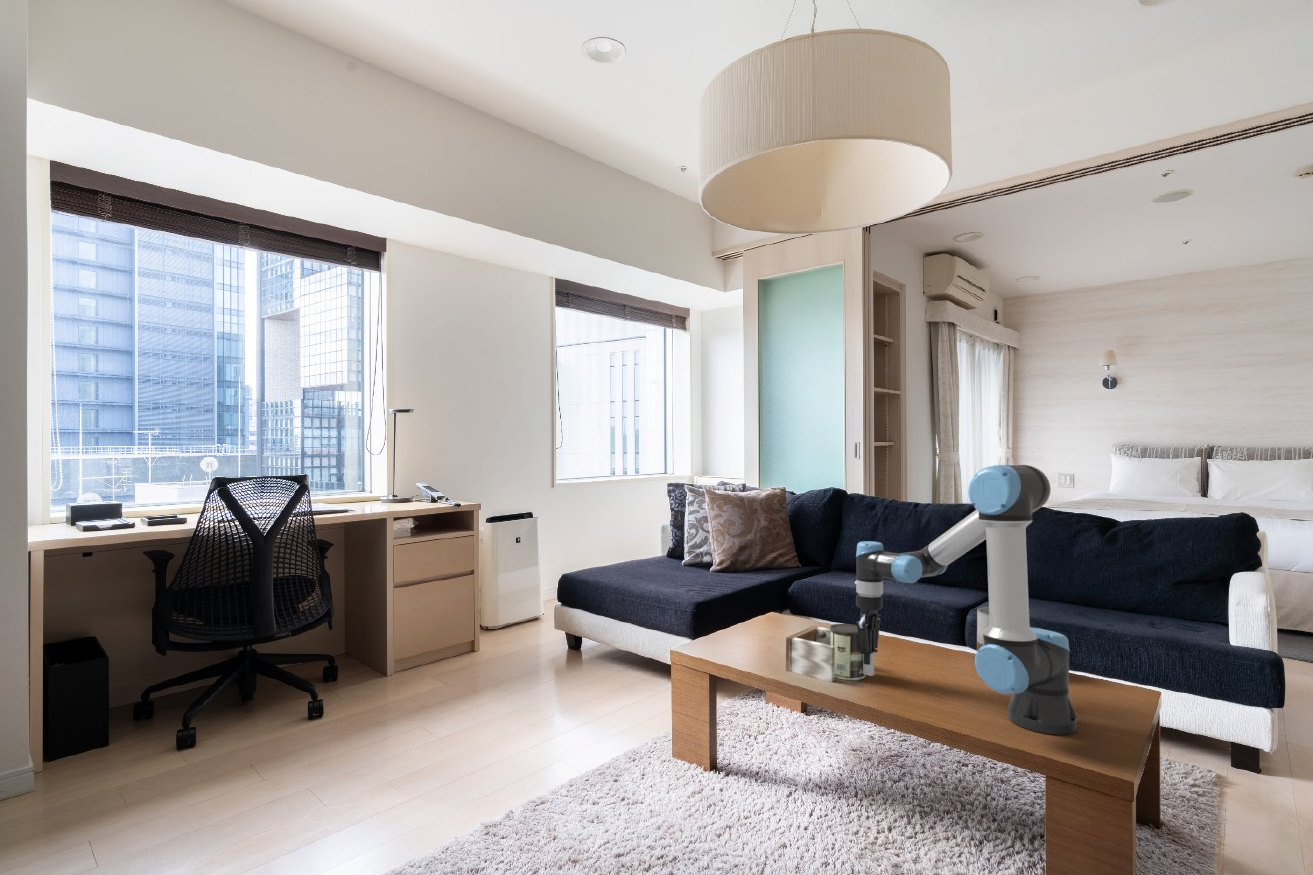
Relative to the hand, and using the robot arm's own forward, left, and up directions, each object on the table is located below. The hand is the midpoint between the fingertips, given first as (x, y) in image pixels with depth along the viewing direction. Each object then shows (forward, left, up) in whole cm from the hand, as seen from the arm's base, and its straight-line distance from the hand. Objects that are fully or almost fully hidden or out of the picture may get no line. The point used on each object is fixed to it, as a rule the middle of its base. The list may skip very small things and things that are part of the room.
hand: (868, 674), depth 198 cm
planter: (+11, -44, -2) cm, 46 cm away
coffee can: (+4, +5, -2) cm, 7 cm away
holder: (+9, +11, -2) cm, 14 cm away
